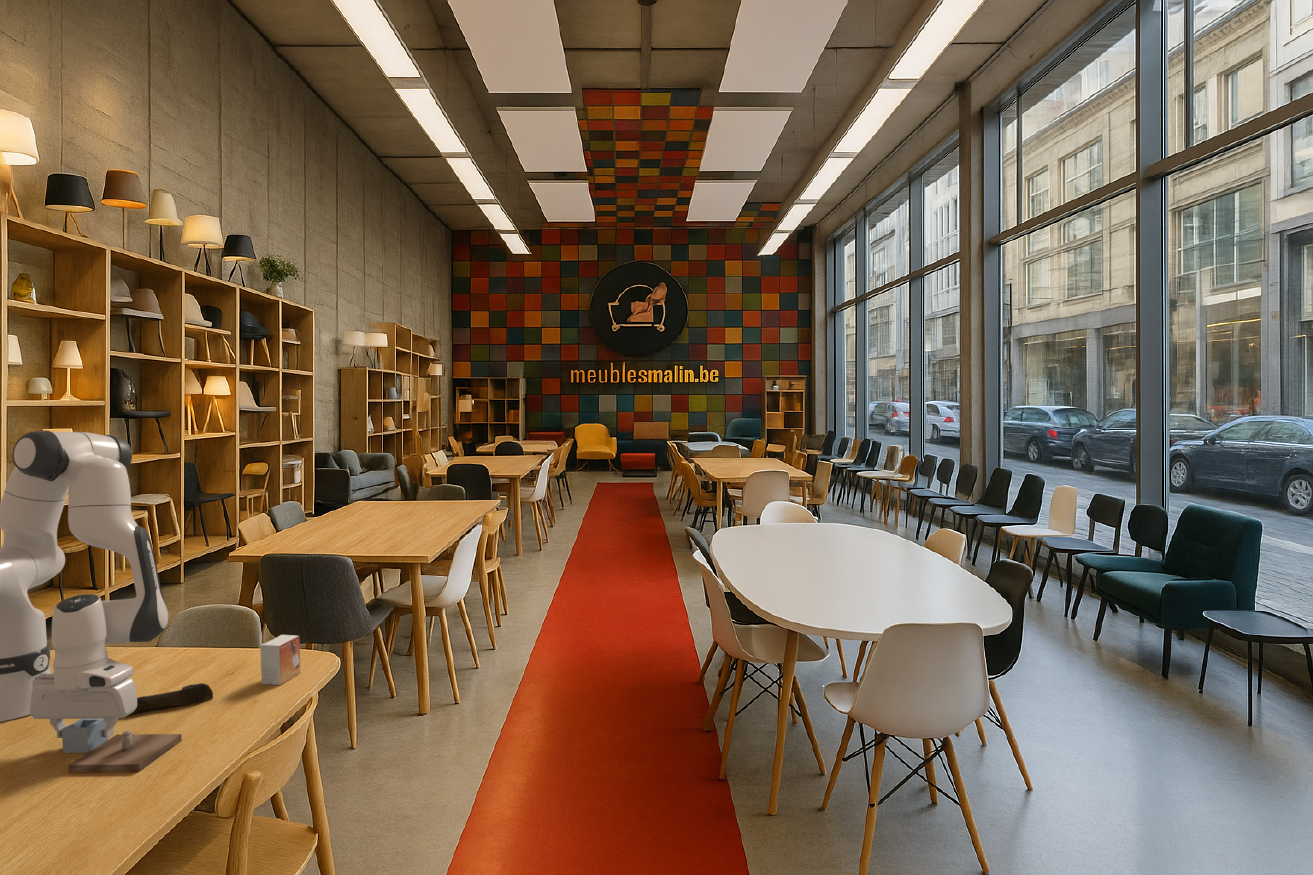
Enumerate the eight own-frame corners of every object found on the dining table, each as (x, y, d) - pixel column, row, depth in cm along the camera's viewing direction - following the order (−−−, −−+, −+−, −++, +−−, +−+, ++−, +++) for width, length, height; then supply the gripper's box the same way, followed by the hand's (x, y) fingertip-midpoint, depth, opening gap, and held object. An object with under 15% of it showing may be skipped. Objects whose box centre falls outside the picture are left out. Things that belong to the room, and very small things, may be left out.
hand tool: (113, 720, 155) (112, 701, 155) (119, 713, 159) (118, 694, 158) (210, 705, 163) (209, 686, 162) (213, 698, 166) (212, 680, 166)
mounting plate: (68, 772, 133) (67, 746, 133) (117, 741, 145) (115, 717, 145) (139, 771, 133) (138, 745, 133) (181, 740, 145) (180, 716, 145)
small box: (280, 685, 173) (278, 645, 172) (261, 684, 174) (259, 644, 173) (301, 673, 181) (300, 635, 180) (282, 671, 182) (281, 633, 181)
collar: (63, 752, 141) (61, 729, 140) (84, 740, 146) (82, 717, 145) (88, 752, 141) (86, 729, 140) (108, 739, 146) (106, 717, 145)
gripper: (18, 679, 139) (22, 744, 140) (117, 679, 139) (121, 743, 140) (46, 667, 145) (50, 729, 146) (140, 667, 145) (144, 728, 146)
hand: (85, 736), depth 143 cm, fingers open, 8 cm apart
